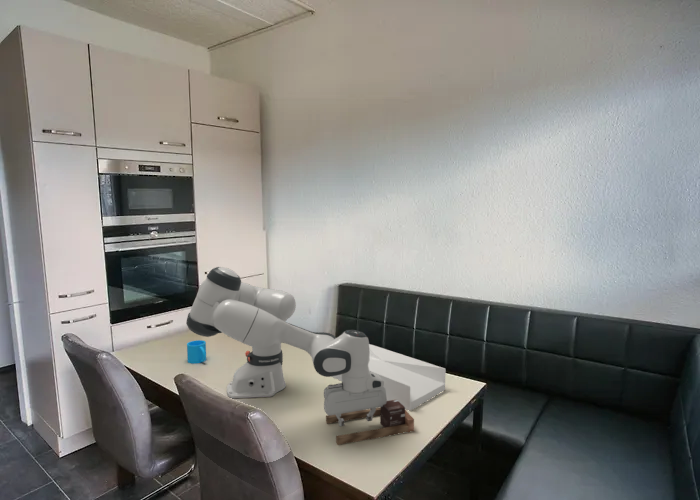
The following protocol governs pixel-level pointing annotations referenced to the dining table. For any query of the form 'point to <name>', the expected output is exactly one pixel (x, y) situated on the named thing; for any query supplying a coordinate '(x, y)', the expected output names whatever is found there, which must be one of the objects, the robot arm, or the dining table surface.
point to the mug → (196, 351)
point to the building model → (405, 377)
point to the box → (392, 414)
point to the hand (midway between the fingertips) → (355, 422)
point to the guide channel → (370, 433)
